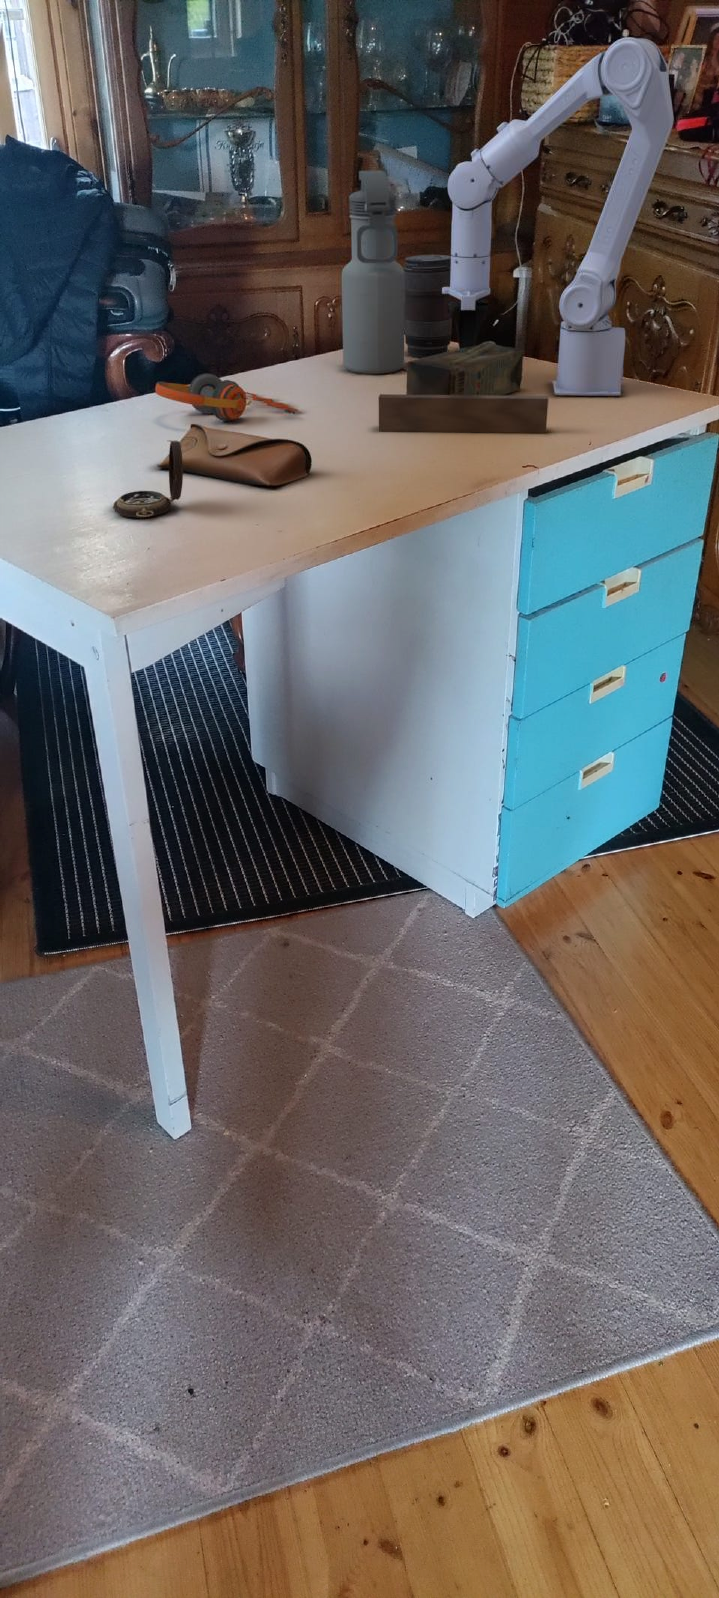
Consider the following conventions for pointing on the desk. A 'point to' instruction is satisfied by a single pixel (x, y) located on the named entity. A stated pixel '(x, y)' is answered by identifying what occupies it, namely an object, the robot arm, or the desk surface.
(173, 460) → the compass
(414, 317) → the camera lens
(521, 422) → the backstop rail
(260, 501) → the desk surface
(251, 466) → the sunglasses case
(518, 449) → the desk surface
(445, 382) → the beverage carton
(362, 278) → the water bottle
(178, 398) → the headphones
